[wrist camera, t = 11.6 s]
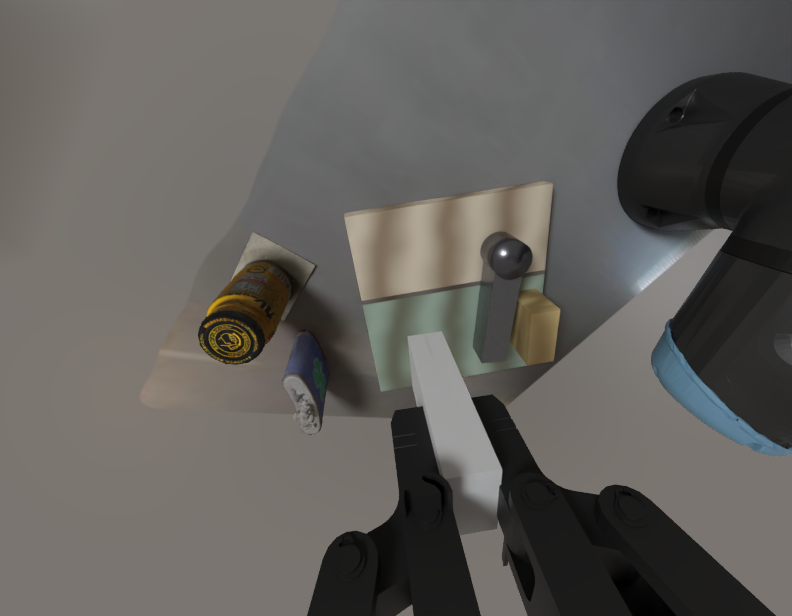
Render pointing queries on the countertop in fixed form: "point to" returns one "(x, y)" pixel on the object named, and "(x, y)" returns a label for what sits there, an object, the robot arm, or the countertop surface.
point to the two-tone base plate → (449, 276)
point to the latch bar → (499, 294)
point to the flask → (307, 381)
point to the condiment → (253, 302)
